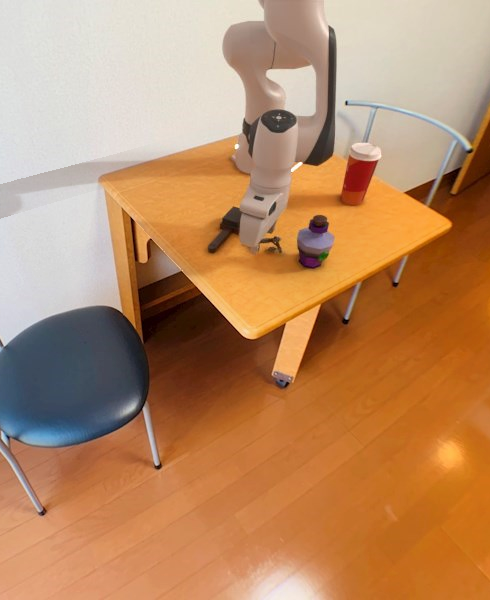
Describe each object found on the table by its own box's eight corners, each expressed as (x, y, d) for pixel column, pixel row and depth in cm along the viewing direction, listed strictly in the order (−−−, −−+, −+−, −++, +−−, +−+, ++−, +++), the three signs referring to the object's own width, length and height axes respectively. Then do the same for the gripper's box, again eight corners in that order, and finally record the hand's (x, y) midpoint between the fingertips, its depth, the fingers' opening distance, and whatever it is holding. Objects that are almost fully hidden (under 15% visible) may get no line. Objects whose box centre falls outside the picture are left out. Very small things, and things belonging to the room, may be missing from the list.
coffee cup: (349, 189, 125) (363, 138, 115) (373, 201, 120) (389, 150, 110) (329, 198, 122) (342, 146, 111) (353, 211, 117) (368, 158, 106)
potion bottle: (317, 278, 97) (328, 234, 89) (284, 262, 101) (292, 219, 93) (335, 259, 102) (347, 216, 93) (303, 245, 106) (312, 203, 98)
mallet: (231, 216, 115) (232, 205, 113) (249, 221, 114) (250, 210, 111) (200, 249, 105) (200, 238, 103) (219, 256, 103) (220, 244, 101)
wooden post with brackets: (283, 254, 102) (278, 237, 100) (254, 255, 107) (248, 240, 105) (286, 250, 103) (281, 233, 101) (257, 251, 108) (251, 236, 106)
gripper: (274, 167, 102) (267, 217, 112) (236, 208, 89) (232, 260, 99) (299, 173, 100) (290, 224, 109) (264, 216, 87) (257, 269, 97)
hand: (262, 241), depth 104 cm, fingers open, 8 cm apart
